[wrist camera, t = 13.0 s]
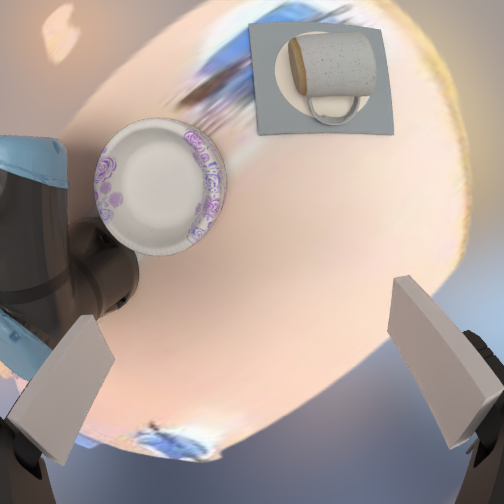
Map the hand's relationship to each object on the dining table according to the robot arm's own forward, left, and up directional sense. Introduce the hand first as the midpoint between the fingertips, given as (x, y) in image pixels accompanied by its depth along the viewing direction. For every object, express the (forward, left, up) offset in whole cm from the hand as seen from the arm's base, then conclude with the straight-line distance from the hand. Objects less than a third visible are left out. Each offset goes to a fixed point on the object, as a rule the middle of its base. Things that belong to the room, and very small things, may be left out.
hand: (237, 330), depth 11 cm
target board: (+10, +16, -26) cm, 32 cm away
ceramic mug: (+10, +15, -24) cm, 30 cm away
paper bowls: (-11, +4, -26) cm, 28 cm away
